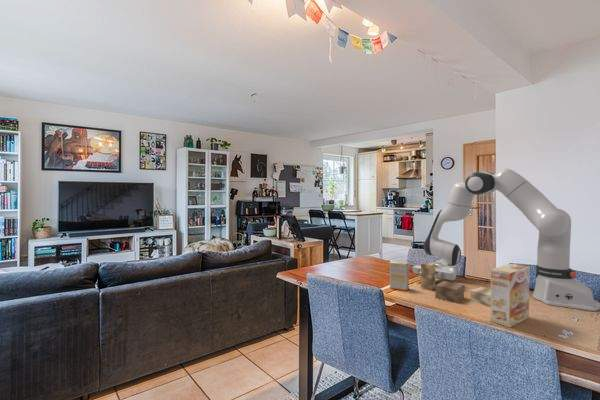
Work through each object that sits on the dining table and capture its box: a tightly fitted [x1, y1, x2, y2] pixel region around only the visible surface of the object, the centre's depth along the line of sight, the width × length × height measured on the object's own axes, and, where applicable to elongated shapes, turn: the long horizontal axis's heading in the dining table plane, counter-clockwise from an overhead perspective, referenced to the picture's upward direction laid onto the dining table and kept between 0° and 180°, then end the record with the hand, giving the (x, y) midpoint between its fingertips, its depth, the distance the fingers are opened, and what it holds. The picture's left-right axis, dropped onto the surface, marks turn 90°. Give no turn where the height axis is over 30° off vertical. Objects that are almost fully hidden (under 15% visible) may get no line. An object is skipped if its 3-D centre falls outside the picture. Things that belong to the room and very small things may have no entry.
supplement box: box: [388, 260, 410, 292], centre depth 160 cm, size 8×5×13 cm, turn 58°
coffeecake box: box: [489, 263, 531, 328], centre depth 121 cm, size 15×7×20 cm, turn 123°
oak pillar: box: [420, 261, 436, 291], centre depth 160 cm, size 5×5×12 cm
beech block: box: [470, 286, 491, 308], centre depth 139 cm, size 8×8×5 cm
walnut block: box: [435, 280, 465, 304], centre depth 145 cm, size 9×9×6 cm
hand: (427, 275), depth 159 cm, fingers closed on oak pillar, 5 cm apart
